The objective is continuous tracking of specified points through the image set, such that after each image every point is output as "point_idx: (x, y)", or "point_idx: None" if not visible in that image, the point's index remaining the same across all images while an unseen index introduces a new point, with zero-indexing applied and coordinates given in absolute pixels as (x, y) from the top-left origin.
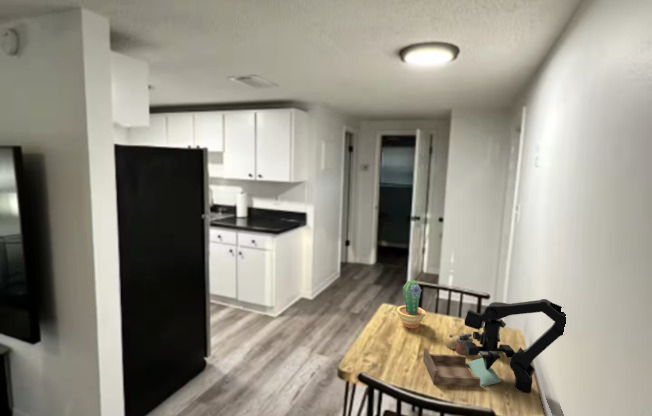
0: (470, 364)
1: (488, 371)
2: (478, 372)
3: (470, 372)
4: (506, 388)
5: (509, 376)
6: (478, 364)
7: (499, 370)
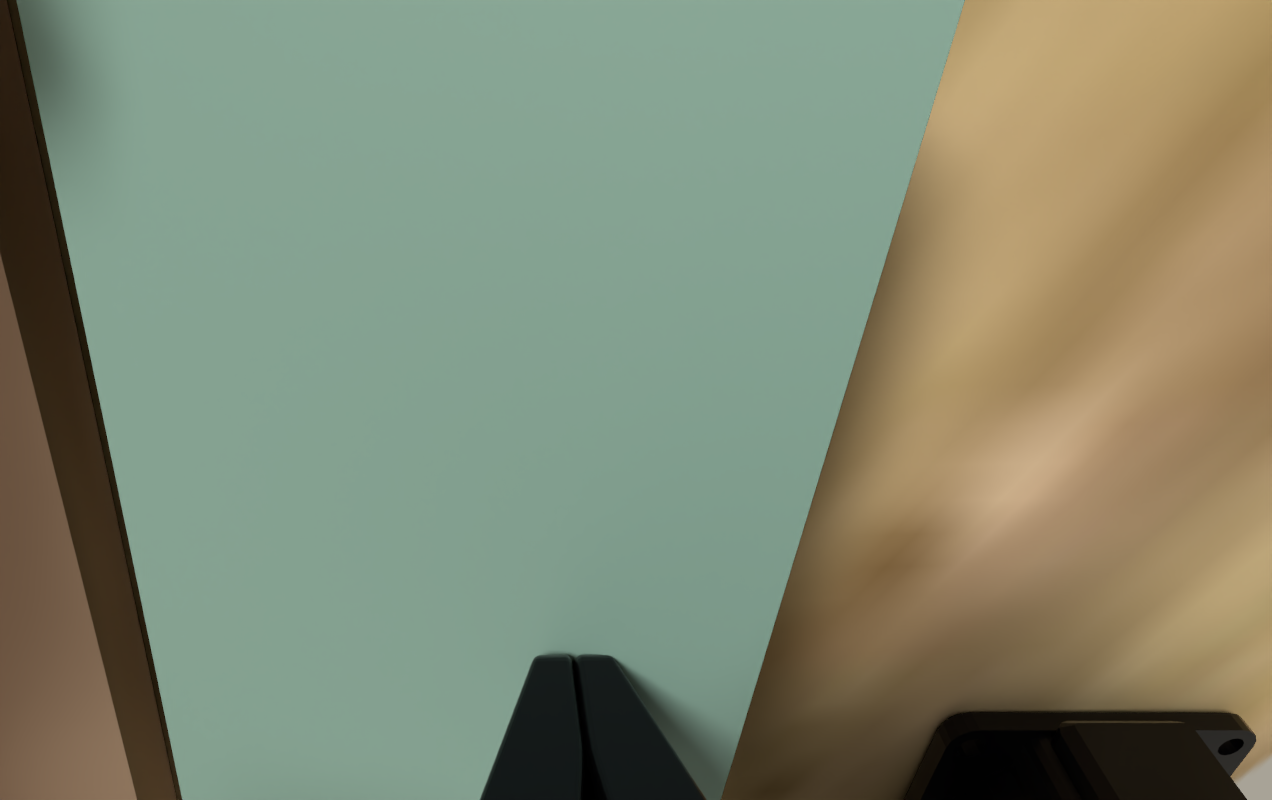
0: (97, 60)
1: None
2: (263, 623)
3: (38, 460)
4: (783, 779)
5: (1220, 438)
6: (420, 287)
7: (1221, 158)
